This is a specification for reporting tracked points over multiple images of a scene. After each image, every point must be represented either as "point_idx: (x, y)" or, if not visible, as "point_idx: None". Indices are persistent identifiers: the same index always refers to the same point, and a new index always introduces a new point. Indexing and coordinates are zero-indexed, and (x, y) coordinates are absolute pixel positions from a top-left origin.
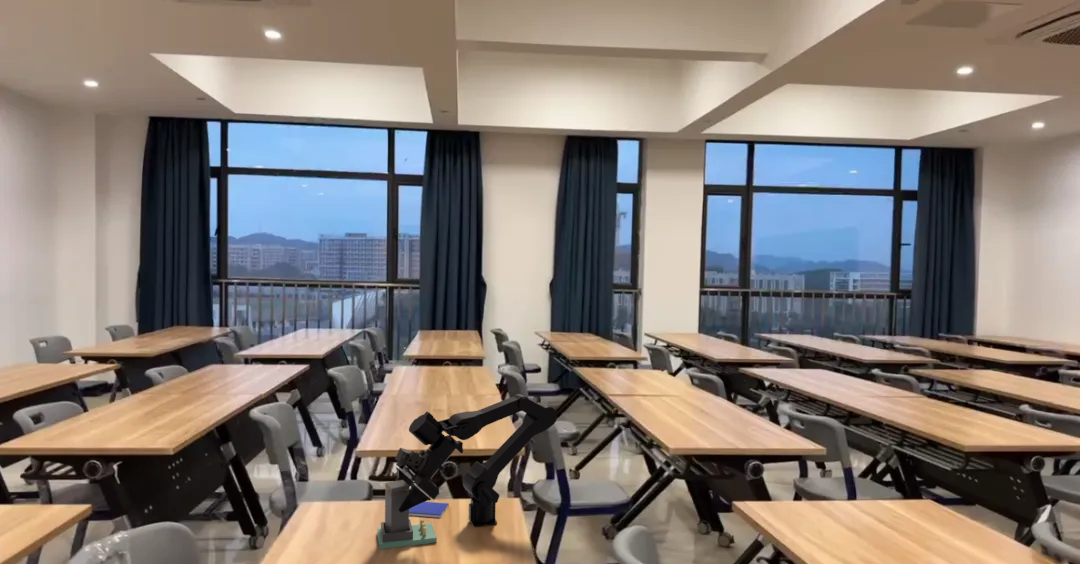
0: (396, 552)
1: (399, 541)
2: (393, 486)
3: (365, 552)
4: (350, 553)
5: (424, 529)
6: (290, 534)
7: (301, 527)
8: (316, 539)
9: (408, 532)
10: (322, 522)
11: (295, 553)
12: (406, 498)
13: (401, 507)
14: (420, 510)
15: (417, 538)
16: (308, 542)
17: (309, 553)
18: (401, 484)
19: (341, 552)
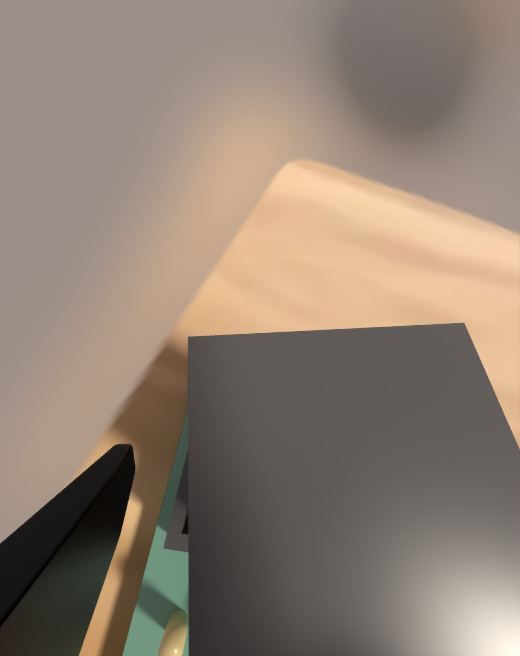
0: (136, 431)
1: (180, 458)
2: (277, 393)
3: (200, 327)
4: (217, 287)
5: (160, 644)
6: (397, 194)
7: (435, 220)
8: (349, 233)
9: (172, 515)
10: (462, 267)
11: (283, 183)
12: (18, 561)
13: (90, 469)
14: None
15: (166, 565)
16: (337, 215)
17: (269, 205)
18: (334, 593)
19: (237, 267)
